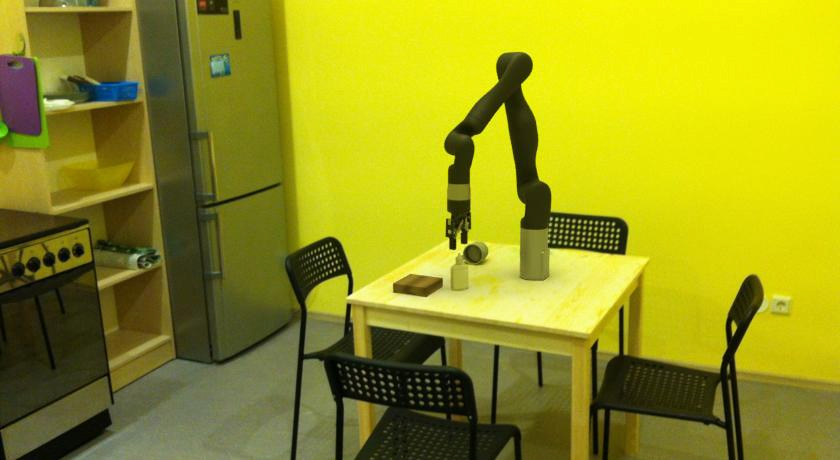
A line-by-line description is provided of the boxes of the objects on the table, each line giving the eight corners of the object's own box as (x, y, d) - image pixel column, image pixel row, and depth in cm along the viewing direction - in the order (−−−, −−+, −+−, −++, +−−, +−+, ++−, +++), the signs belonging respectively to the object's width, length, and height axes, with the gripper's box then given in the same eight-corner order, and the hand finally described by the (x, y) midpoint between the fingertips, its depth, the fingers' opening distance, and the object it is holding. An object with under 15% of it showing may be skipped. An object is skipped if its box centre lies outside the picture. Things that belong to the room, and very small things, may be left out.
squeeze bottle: (467, 291, 261) (467, 255, 258) (450, 290, 262) (449, 254, 259) (468, 287, 265) (468, 251, 262) (451, 286, 266) (451, 251, 263)
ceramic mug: (489, 260, 297) (489, 239, 295) (482, 265, 290) (482, 244, 288) (462, 258, 301) (462, 238, 299) (454, 263, 294) (454, 243, 292)
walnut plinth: (442, 286, 266) (442, 277, 265) (426, 297, 256) (426, 287, 255) (410, 282, 271) (410, 273, 271) (393, 292, 261) (392, 283, 260)
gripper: (460, 201, 248) (459, 253, 252) (478, 194, 261) (478, 243, 264) (438, 199, 252) (438, 250, 256) (457, 192, 264) (457, 240, 268)
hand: (458, 246), depth 260 cm, fingers open, 8 cm apart
